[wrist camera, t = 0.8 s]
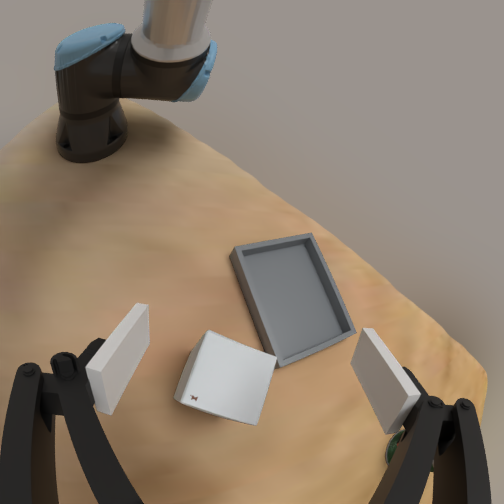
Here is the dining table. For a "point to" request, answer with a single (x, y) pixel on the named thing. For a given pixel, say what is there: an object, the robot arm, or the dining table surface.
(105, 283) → the dining table surface
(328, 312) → the gray tray
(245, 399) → the supplement box
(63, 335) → the dining table surface
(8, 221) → the dining table surface
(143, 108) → the dining table surface
